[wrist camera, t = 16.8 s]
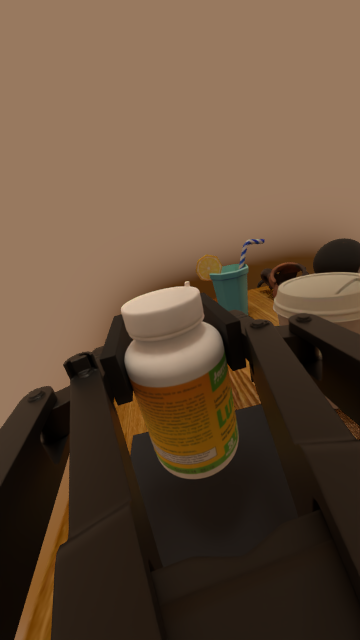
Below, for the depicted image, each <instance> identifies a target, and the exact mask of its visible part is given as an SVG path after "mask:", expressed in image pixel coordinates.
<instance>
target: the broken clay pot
mask: <svg viewBox="0 0 360 640" xmlns="http://www.w3.org/2000/svg"><path fill="white" fill-rule="evenodd" d="M299 271H302V273H303V274H302V276H305V275H309V273H308V272H307V271H306V268H305V267H304V266H303V265H301V264H297V263H292V262H291V263H290V262H289V263H283V264H280V265H278V266H276V267H275V268H274V269H273V270H272V269H264V270H263V271H262V272H261V278H262V280H263V281H264V282H265V283H266V284H267V285H268V286H269V288H270V290H272V289H274V290H273V294H272V295H273V298H275V297H276V295H277V291H278V287H279V285H281V284H282V283H283V282H285V281H287V280H290V279H293V278H297V277H296V275H297V272H299ZM277 272H280V273H279V274H277ZM276 283H277V284H276Z"/></svg>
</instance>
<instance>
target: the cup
mask: <svg viewBox="0 0 360 640" xmlns="http://www.w3.org/2000/svg"><path fill="white" fill-rule="evenodd" d="M263 243H264V239H252V240H250V239H249V240H247V241H246V242H245V244H244V245H243V249H242V254H241V259H240V264H233V265H228V266H223V267H222V264H221V262H220V261H219V259H218V257H217V256H212V255H205V256H204V257H202V258H201V259H199V260H198V262H197V266H196V273H197V274H198V276H199V277H200V279H201V280H205V281H210V282H211V281H213V285H214V288H215V292H216V296H217V300H218V304H219V305H221V306H222V307H223V308H225V309H226V310H227V311H231V310H239V311H242V312H243V313H245V314H247V315H248V298H247V273H248V266H247V265H246V264H244V260H245V255H246V250H247V246H248V245H249V244H263Z"/></svg>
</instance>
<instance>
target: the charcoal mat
mask: <svg viewBox="0 0 360 640" xmlns="http://www.w3.org/2000/svg"><path fill="white" fill-rule="evenodd" d="M235 414H236V420H237V426H238V434H239V440H238V447H237V450H236V452H235V455H234V456H233V458H232V460H231V461H230V462H229V463H228V465H226V466H225V467H224V468H223V469H222V470H220V471H219V472H217V473H215V474H213V475H211V476H209V477H205V478H201V479H186V478H181V477H178V476H176V475H174V474H172V473H170V472H169V471H168V470H167V469H166V468H165V467H164V466H163V465H162V464H161V462H160V461H159V459H158V457H157V454H156V452H155V449H154V446H153V443H152V441H151V438H150V435H149V432H146V433H142V434H137V435H133V440H132V448H131V455H130V458H131V461H132V465H133V468H134V471H135V475H136V478H137V481H138V485H139V488H140V492H141V495H142V498H143V502H144V505H145V508H146V512H147V515H148V519H149V522H150V525H151V529H152V532H153V535H154V539H155V542H156V545H157V549H158V552H159V556H160V559H161V562H162V565H163V567H165V566H168V565H170V564H173V563H176V562H179V561H181V560H184V559H187V558H189V557H238V556H243V555H245V554H247V553H248V552H249V551H250V550H252V549H253V548H254V547H255V546H256V545H257V544H259V543H260V542H261V541H262V540H263V539H264V538H265V537H267V536H268V535H269V534H270V533H271V532H272V531H274V530H275V529H276V528H277V527H278V526H279V525H281V524H282V523H284V522H287V521H290V520H292V519H295V518H298V514H297V511H296V508H295V504H294V501H293V498H292V495H291V492H290V489H289V486H288V483H287V480H286V477H285V474H284V471H283V468H282V465H281V462H280V459H279V456H278V453H277V450H276V447H275V444H274V441H273V438H272V435H271V432H270V429H269V426H268V423H267V419H266V416H265V413H264V410H263V407H262V405H261V404H260V405H256V406H252V407H248V408H244V409H239V410H235Z"/></svg>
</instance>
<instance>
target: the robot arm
mask: <svg viewBox="0 0 360 640" xmlns="http://www.w3.org/2000/svg"><path fill="white" fill-rule="evenodd" d="M358 273H360V268H359V270H358ZM262 283H264V281H263V280H261V281H260V282H259V283H258V285H257V288H260V287H261V285H262ZM200 296H201V301H202V306H203V313H204V319H203V322H206V323H208V324H210V325H212V326H213V327H214V328H216V329H217V330H218V332H219V333H220V335H221V337H222V340H223V345H224V349H225V355H226V361H227V364H228V365H229V366H230V368H231V369H232V370H233V371H235V370H238V369H242V368H245V367H246V360H245V358H246V359H247V360H248V361H249V365H250V373H251V380H252V382H254V383H255V386H256V389H257V392H258V395H259V398H260V401H261V404H262V407H263V410H264V413H265V416H266V419H267V423H268V426H269V429H270V432H271V435H272V438H273V441H274V444H275V447H276V450H277V453H278V456H279V459H280V462H281V465H282V468H283V471H284V474H285V477H286V480H287V483H288V486H289V489H290V492H291V495H292V498H293V501H294V504H295V508H296V511H297V514H298V518H295V519H292V520H290V521H287V522H284V523H282V524H281V525H279V526H278V527H277V528H276V529H275V530H274V531H272V532H271V533H270V534H269V535H268V536H267V537H265V538H264V539H263V540H262V541H261V542H260V543H259V544H257V545H256V546H255V547H254V548H253V549H252V550H250V551H249V552H248V553H247V554H245V555H243V556H238V557H189V558H187V559H184V560H181V561H179V562H176V563H173V564H170V565H168V566H165V567H163V565H162V562H161V559H160V556H159V552H158V549H157V545H156V542H155V539H154V535H153V532H152V529H151V525H150V522H149V519H148V515H147V512H146V508H145V505H144V502H143V498H142V495H141V492H140V488H139V485H138V481H137V478H136V475H135V471H134V468H133V465H132V461H131V458H130V455H129V451H128V448H127V444H126V441H125V438H124V434H123V431H122V428H121V424H120V421H119V417H118V414H117V411H116V408H115V406H114V397H115V400H116V402H117V405H121V404H125V403H128V402H131V401H133V388H132V386H131V383H130V380H129V377H128V374H127V371H126V367H125V362H124V360H125V353H126V350H127V348H128V346H129V345H130V344H131V342H132V341H133V339H132V338H131V337H130V336H129V333H128V332H127V330H126V327H125V323H124V320H123V316H122V314H121V315H118V316H115V317H114V318H113V321H112V324H111V327H110V330H109V333H108V336H107V339H106V342H105V345H104V346H102V347H99V348H96V349H95V350H94V351H93V352H82V353H79V354H77V355H74V356H72V357H71V358H69V359H68V360H67V361H65V363H64V364H63V366H64V368H65V370H66V372H67V374H68V376H69V378H70V386H68V387H66V388H64V389H62V390H59V391H57V392H54V390H53V389H52V388H51V387H50V386H46V387H41V388H37V389H35V390H33V391H31V392H29V394H27V395H26V396H25V397H24V398H23V399H22V400H21V401H20V402H19V404H18V405H17V406H16V408H15V409H14V411H13V412H12V414H11V415H10V416H9V418H8V419H7V420H6V422H5V423H4V425H3V426H2V427H1V429H0V640H14V638H15V634H16V631H17V628H18V625H19V621H20V618H21V615H22V611H23V608H24V604H25V601H26V598H27V594H28V591H29V588H30V584H31V581H32V578H33V574H34V571H35V567H36V564H37V561H38V557H39V554H40V550H41V547H42V544H43V540H44V537H45V534H46V531H47V527H48V524H49V520H50V517H51V513H52V510H53V507H54V504H55V500H56V496H57V493H58V490H59V487H60V483H61V480H62V477H63V473H64V470H65V467H66V463H67V460H68V456H69V453H70V465H69V535H68V540H67V542H65V543H64V544H62V545H60V547H59V549H58V552H57V555H56V562H55V574H54V592H53V611H52V629H51V640H360V440H357V439H356V438H355V437H354V436H353V435H352V433H351V432H350V430H349V429H348V428H347V426H346V425H345V424H344V422H343V421H342V419H341V418H340V417H339V415H338V414H337V412H336V411H335V410H334V408H333V407H332V406H331V404H330V403H329V401H328V400H327V399H326V397H327V398H328V399H329V400H330V401H331V402H332V403H334V404H335V405H336V406H337V407H338V408H339V409H340V410H342V411H343V412H344V413H345V414H346V415H347V416H349V417H350V418H351V419H352V420H353V421H354V422H355V423H357V424H358V425H359V426H360V334H358V333H356V332H353V331H351V330H349V329H347V328H344V327H342V326H340V325H337V324H335V323H333V322H330V321H328V320H326V319H324V318H321V317H319V316H317V315H314V314H307V313H299V314H295V315H292V316H290V317H289V319H288V321H289V325H283V326H274V325H273V324H272V323H271V322H270V321H268V320H262V319H259V320H254V319H253V318H251V317H250V316H248V315H247V314H245V313H243V312H242V311H239V310H231V311H227V310H226V309H225V308H223V307H222V306H221V305H219V304H218V303H217V302H215V301H214V300H213V299H212V298H210V297H209V296H207V295H206V294H205V293H201V294H200ZM319 351H320V352H321V354H322V357H321V356H320V355H319ZM325 396H326V397H325Z"/></svg>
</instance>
